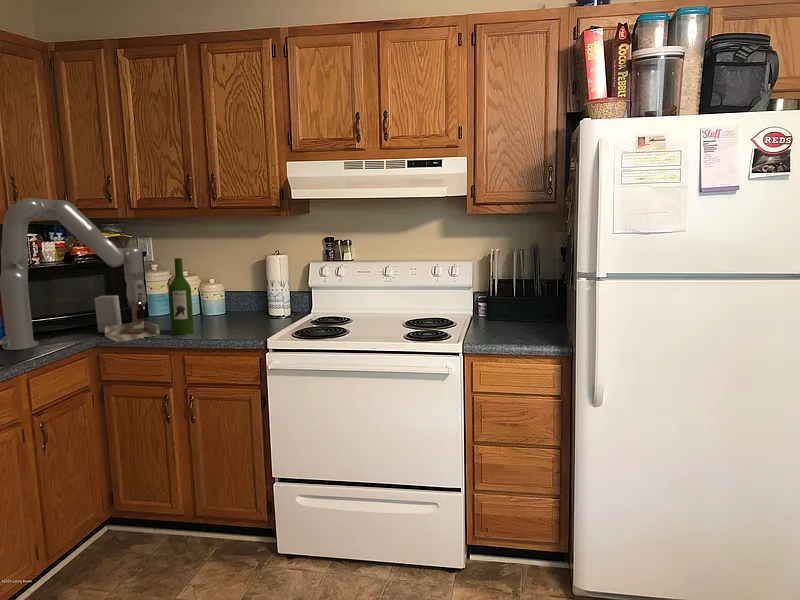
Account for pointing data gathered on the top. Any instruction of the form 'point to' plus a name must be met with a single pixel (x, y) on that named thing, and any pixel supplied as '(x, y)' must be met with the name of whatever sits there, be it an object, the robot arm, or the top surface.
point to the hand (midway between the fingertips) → (137, 317)
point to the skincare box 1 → (107, 311)
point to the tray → (130, 331)
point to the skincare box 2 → (136, 322)
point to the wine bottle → (180, 302)
